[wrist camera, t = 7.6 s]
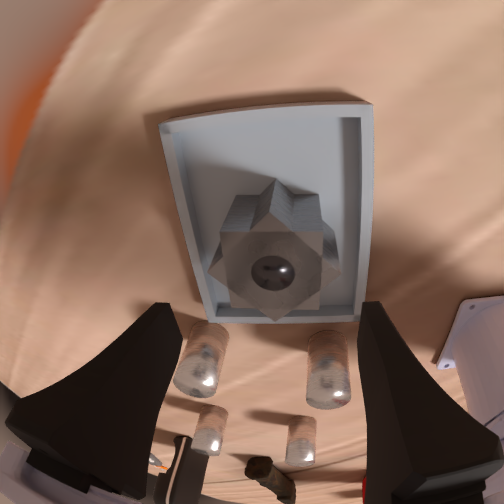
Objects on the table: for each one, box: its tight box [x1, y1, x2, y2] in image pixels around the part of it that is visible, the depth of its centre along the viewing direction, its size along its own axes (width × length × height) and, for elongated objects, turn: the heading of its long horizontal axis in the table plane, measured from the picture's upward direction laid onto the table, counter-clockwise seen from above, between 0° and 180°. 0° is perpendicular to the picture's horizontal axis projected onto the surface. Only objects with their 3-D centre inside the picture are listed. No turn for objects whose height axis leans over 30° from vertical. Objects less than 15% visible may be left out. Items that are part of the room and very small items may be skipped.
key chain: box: [149, 453, 167, 471], centre depth 49 cm, size 13×4×2 cm, turn 12°
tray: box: [158, 101, 374, 324], centre depth 18 cm, size 10×13×2 cm
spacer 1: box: [173, 321, 229, 398], centre depth 22 cm, size 3×3×5 cm
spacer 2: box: [191, 405, 228, 456], centre depth 30 cm, size 3×3×5 cm
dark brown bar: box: [245, 457, 296, 504], centre depth 41 cm, size 19×4×5 cm, turn 20°
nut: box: [207, 178, 341, 322], centre depth 16 cm, size 6×6×4 cm
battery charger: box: [153, 437, 209, 504], centre depth 35 cm, size 7×4×11 cm, turn 18°
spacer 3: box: [285, 416, 316, 467], centre depth 29 cm, size 3×3×5 cm
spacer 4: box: [306, 330, 351, 409], centre depth 21 cm, size 3×3×5 cm
